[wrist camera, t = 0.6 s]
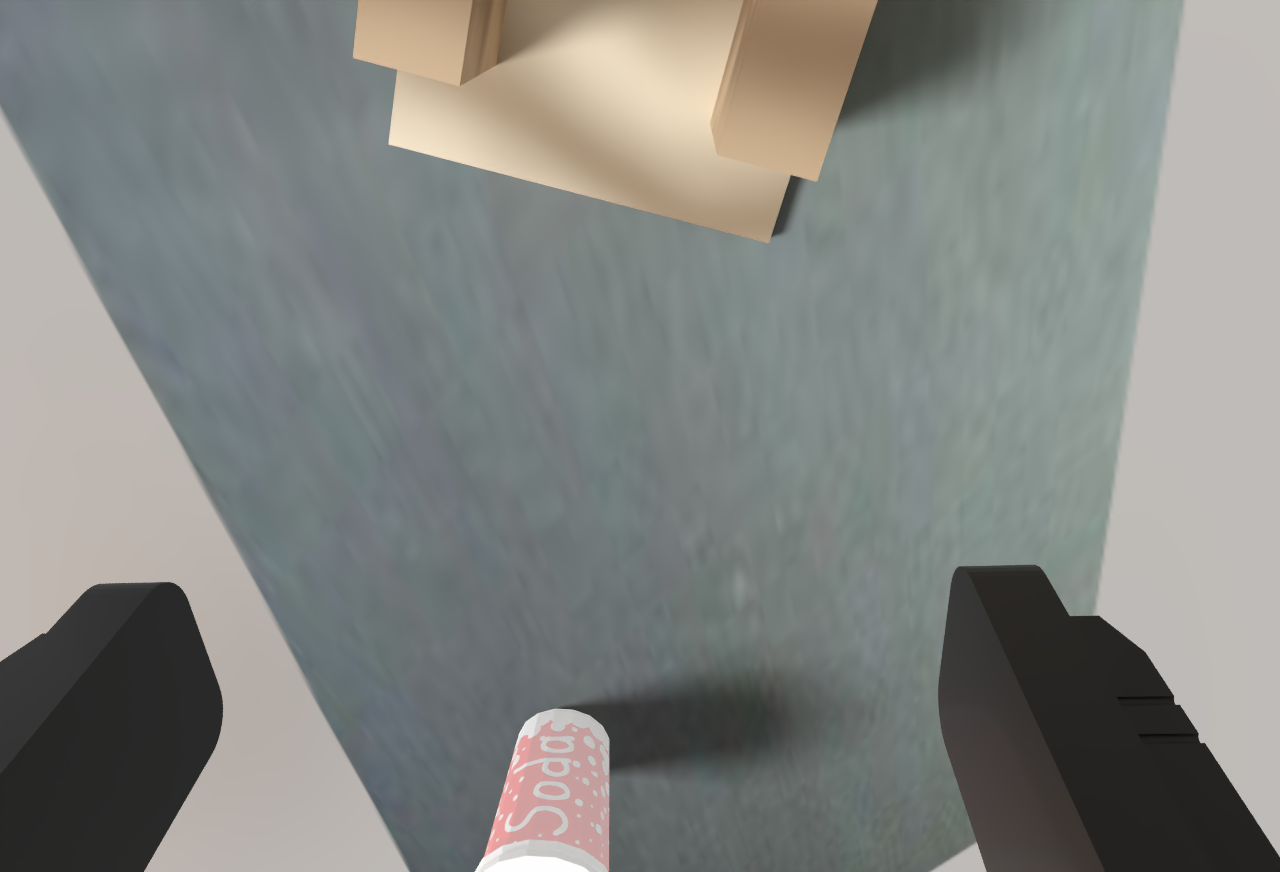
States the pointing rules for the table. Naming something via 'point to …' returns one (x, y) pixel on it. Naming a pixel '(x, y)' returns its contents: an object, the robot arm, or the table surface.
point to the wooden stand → (625, 94)
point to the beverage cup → (554, 799)
